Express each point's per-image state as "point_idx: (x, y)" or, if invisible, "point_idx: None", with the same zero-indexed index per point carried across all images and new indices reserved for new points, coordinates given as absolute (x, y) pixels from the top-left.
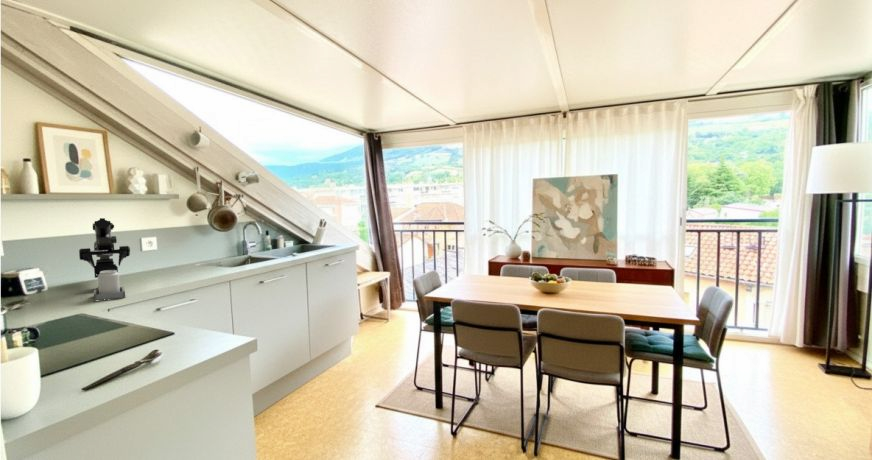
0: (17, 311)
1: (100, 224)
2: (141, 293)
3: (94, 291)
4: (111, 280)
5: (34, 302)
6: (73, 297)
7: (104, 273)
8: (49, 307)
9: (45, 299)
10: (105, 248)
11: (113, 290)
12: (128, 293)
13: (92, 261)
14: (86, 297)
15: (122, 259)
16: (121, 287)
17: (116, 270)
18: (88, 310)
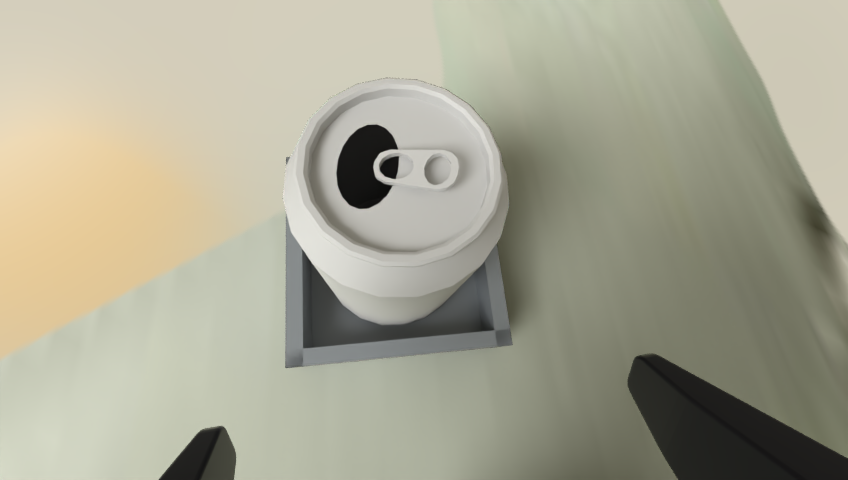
0: (786, 158)
1: None
2: (182, 267)
3: (498, 279)
4: (368, 129)
5: (808, 344)
6: (624, 381)
7: (437, 96)
8: (669, 163)
9: (783, 410)
10: None
11: (362, 185)
12: (270, 319)
13: (793, 451)
14: (539, 333)
15: None
16: (306, 349)
17: (298, 178)
18: (467, 5)
